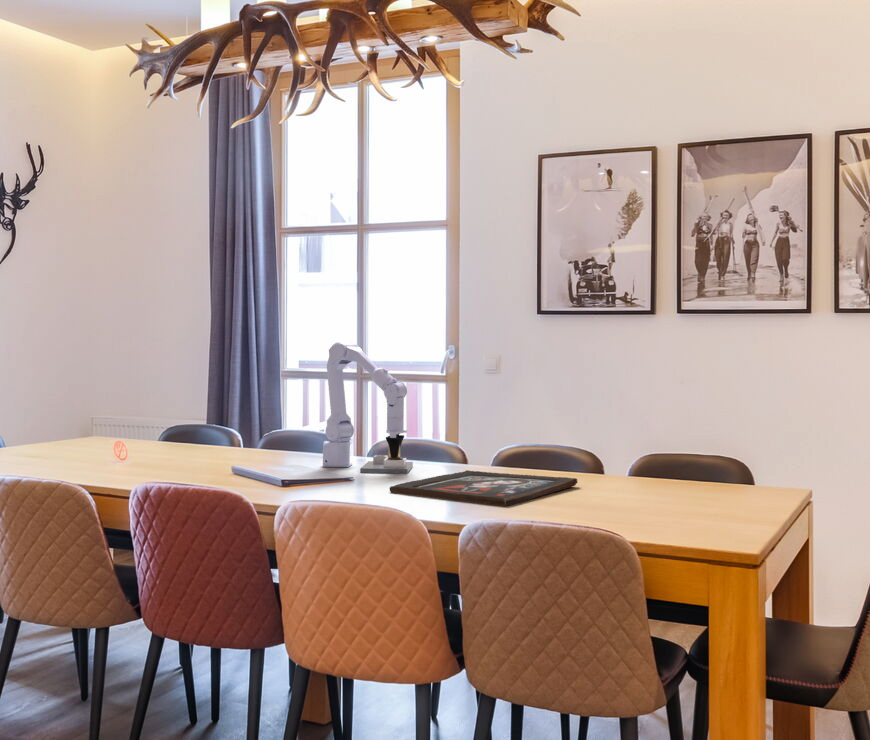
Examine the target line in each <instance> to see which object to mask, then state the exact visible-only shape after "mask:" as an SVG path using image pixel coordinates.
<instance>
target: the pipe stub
mask: <svg viewBox="0 0 870 740" xmlns="http://www.w3.org/2000/svg"><path fill="white" fill-rule="evenodd" d="M388 458H389V460H400V458H401V448H400V447H399V453H398V457H397V458H391V455H390V449H389V448H388Z"/></svg>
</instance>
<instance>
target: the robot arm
mask: <svg viewBox="0 0 870 740" xmlns="http://www.w3.org/2000/svg"><path fill="white" fill-rule="evenodd" d="M328 356H329V357H328V359H327V364H326V371H327V384H328V385H327V386H328V395H329V396H328V397H329V404H330V405H329V407H330V416H329V417H328V418H327V420H326V428H325V436H326V438H327V440H328V441H327V440H324V441H323V445H322V467H324V468H327V467H328V468H330V467H331V468H337V467H339V468H349V467H351V466H352V465H353V463H352V462H350V461H351V457H350V456H351V455H350V453H351V452H350V451H351V450H350V449H351V448H350V447H351V442H350V441H351V440H352V437H353V436H354V433H355V429H354V426H353V422H352V418H351V417H350V416H349V414H348V413H347V406H346V403H347V402H346V395H345V384H344V371H343V370H344V369H345V368H346V366H348V365H349V364H350V363H352V362H354V363H356V364H358V365H359V366H360V367H361V368H362V369H363V370H365V371H366V372H367V373H368V374H369V375H370V376H371V377H370V378H371V380H372V382H373V383H375V385H376V386H378V388H380V389H381V391H382V392H383V394H384V397H385V399H386V403H387V404H386V407H387V408H386V432H385V433H387V434H389V435H388V436H386V437H385V440H386V442H387V444H388V450H389V449H390V455H391V458H397V457H398V453H399V447H400V449H401V446H402V443H403V440H404V438H405V435H403V434H405V433H406V434H407V432H408V430H407V429H404V428H405V427H404V425H405V424H404V422H405V419H404V416H405V415H404V414H405V412H404V409H405V408H404V407H405V403H404V401H405V397H406V396H407V394H408V390H407V386H406V385H405V383H404V382H402V381H398V379H397V378H396V377H394V376H392V375H391V374H390V372H389V370H388V369H387V368H384V367H378V366H377V365H376V364H375V363H374V362H373V361H372V359H370V358H369V357H368V356H367V354H365V352H363V350H362V348H361V347H360V346H358V344H356V343H354V342H335V343H334V344H332V346H330V347H329V349H328Z"/></svg>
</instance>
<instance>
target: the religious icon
mask: <svg viewBox="0 0 870 740" xmlns="http://www.w3.org/2000/svg"><path fill="white" fill-rule="evenodd" d="M577 484H578V478H575V477H574V478H573V477H562V476H558V477H557V476H546V475H531V474H514V473H500V472H492V471H491V472H487V471H478V470H475V471H474V470H465V471H460V472H454V473H448V474H442V475H436V476H432V477H427V478H423V479H417V480H411V481H407V482H403V483H397V484H394V485H390V487H389V492H390V493H391V494H396V495H397V494H399V495H404V496H405V495H406V496H414V497H415V496H416V497H422V498H429V499H430V498H431V499H441V500H447V501H457V502H463V503H465V502H466V503H473V504H480V505H488V506H496V507H509V506H512V505H517V504H519V503H523V502H527V501H531V500H534V499H536V498H538V497H542V496H545V495H549V494H552V493H555V492H558V491H562V490H565V489H569V488H572V487H575V486H576V485H577Z"/></svg>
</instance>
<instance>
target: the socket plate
mask: <svg viewBox="0 0 870 740" xmlns="http://www.w3.org/2000/svg"><path fill="white" fill-rule="evenodd" d="M412 466H414V462H413V461H407V457H400V460H389V454H388V455H386V454H385V455H384V454H383V455H380V454H375V455H374V456H373V457H372V460H368V461H367V462H366V463H365V464H364V465H362V466H361V467H360V468H359V473H361V474H402V475H403V474H404V475H406V474H408V473H409V472H410V471H411V469H412V468H413V467H412Z"/></svg>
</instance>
